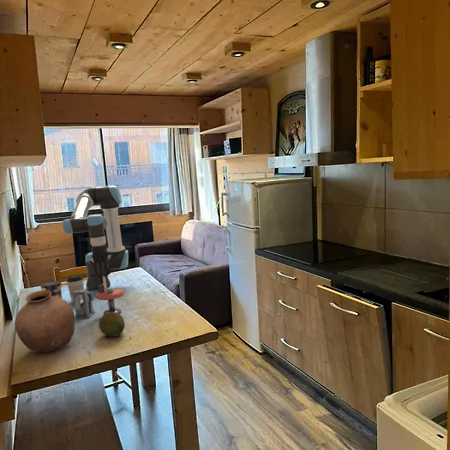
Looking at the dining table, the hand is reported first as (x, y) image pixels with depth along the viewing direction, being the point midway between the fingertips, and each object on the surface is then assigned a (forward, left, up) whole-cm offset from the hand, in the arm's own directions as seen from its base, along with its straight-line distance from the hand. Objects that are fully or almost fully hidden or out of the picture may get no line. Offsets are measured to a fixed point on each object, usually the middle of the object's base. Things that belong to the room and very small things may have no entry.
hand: (105, 288), depth 213 cm
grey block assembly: (+2, -11, -12) cm, 17 cm away
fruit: (+33, +13, -13) cm, 37 cm away
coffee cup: (-23, -24, -13) cm, 36 cm away
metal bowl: (+4, +4, -12) cm, 13 cm away
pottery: (+43, -12, -13) cm, 46 cm away
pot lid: (+4, +4, -3) cm, 6 cm away
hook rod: (+1, -11, -8) cm, 14 cm away
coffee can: (-13, -34, -13) cm, 39 cm away
